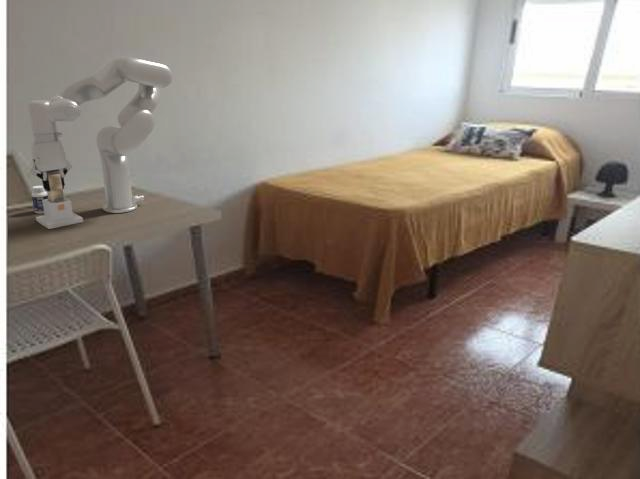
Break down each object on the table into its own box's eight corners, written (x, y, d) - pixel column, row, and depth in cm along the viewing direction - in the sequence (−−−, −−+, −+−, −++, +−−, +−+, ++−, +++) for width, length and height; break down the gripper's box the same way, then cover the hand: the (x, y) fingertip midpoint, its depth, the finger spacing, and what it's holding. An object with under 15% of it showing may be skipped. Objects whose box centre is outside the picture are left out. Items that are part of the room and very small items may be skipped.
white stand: (70, 214, 201) (66, 191, 198) (83, 221, 193) (79, 197, 190) (36, 220, 193) (32, 197, 190) (48, 229, 185) (44, 204, 182)
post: (61, 207, 194) (55, 168, 189) (65, 210, 192) (59, 170, 187) (50, 209, 192) (43, 170, 187) (54, 212, 189) (47, 172, 184)
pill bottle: (38, 214, 200) (34, 189, 197) (31, 211, 203) (27, 187, 200) (53, 211, 204) (48, 186, 201) (45, 208, 207) (41, 184, 204)
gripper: (66, 133, 191) (74, 183, 197) (15, 139, 179) (25, 191, 186) (75, 136, 186) (82, 187, 192) (23, 142, 175) (33, 196, 181)
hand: (54, 188), depth 189 cm, fingers closed on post, 4 cm apart
